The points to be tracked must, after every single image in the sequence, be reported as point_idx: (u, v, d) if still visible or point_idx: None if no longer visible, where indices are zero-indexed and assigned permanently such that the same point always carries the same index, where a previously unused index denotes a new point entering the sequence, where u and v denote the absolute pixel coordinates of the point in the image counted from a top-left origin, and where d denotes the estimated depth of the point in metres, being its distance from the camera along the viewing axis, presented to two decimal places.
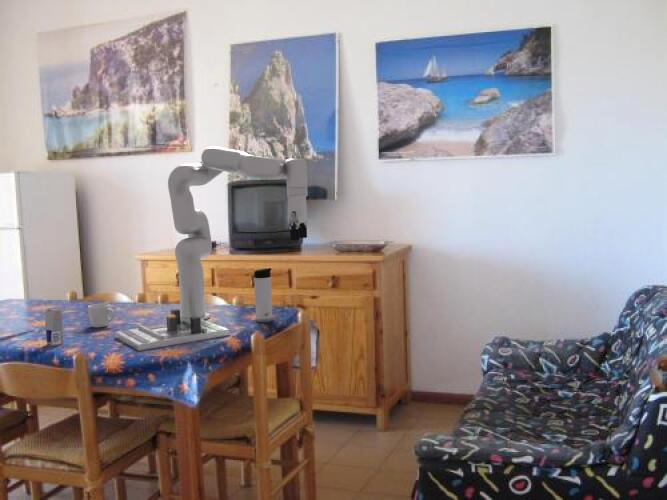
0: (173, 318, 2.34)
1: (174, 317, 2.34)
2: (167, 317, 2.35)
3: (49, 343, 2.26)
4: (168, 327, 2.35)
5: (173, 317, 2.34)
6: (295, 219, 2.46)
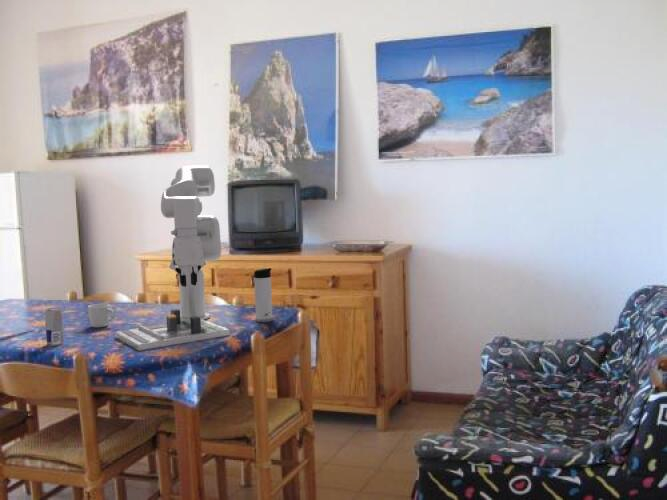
0: (173, 318, 2.34)
1: (174, 317, 2.34)
2: (167, 317, 2.35)
3: (49, 343, 2.26)
4: (168, 327, 2.35)
5: (173, 317, 2.34)
6: None
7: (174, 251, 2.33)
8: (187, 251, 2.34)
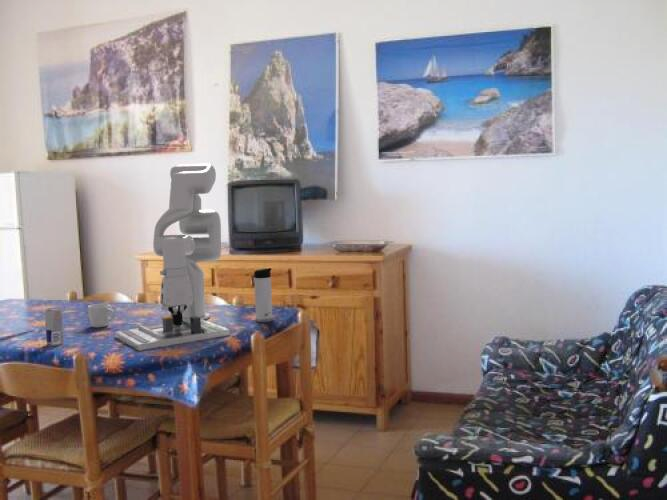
0: (169, 319, 2.33)
1: (170, 318, 2.33)
2: (163, 318, 2.34)
3: (49, 343, 2.26)
4: (164, 328, 2.34)
5: (169, 318, 2.33)
6: None
7: (163, 291, 2.31)
8: (176, 291, 2.32)
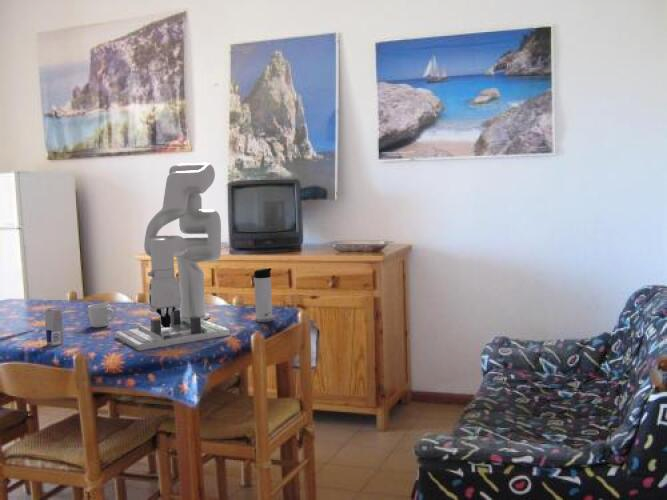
0: (158, 321, 2.31)
1: (158, 319, 2.31)
2: (151, 319, 2.31)
3: (49, 343, 2.26)
4: (152, 329, 2.31)
5: (157, 319, 2.31)
6: None
7: (151, 293, 2.29)
8: (164, 293, 2.30)
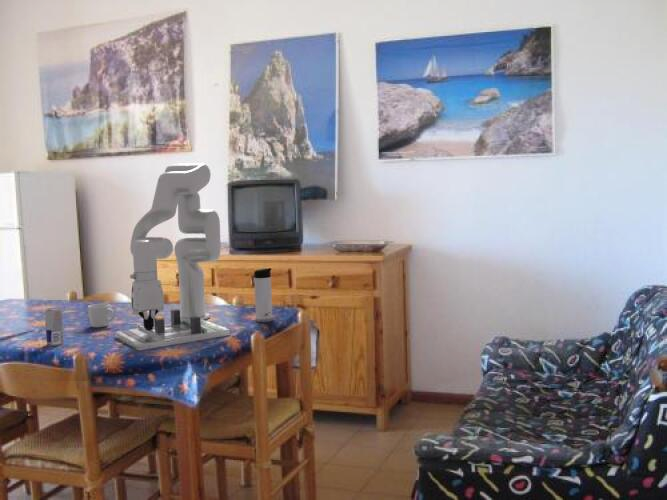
0: (161, 320, 2.31)
1: (162, 319, 2.32)
2: (155, 319, 2.32)
3: (49, 343, 2.26)
4: (156, 329, 2.32)
5: (161, 319, 2.31)
6: None
7: (133, 295, 2.26)
8: (146, 295, 2.27)
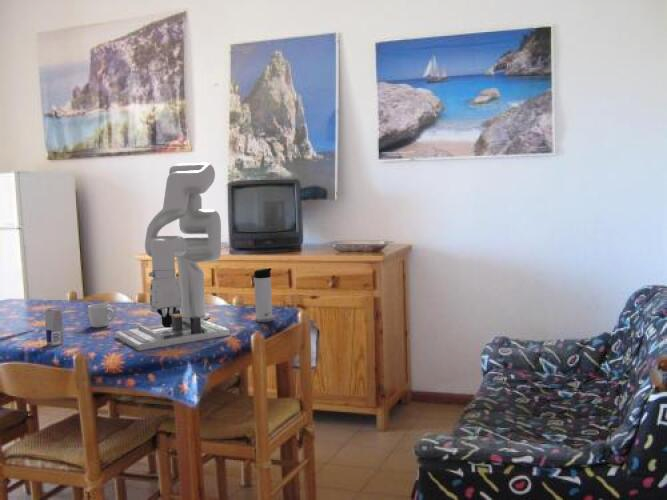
0: (179, 318, 2.35)
1: (180, 316, 2.35)
2: (173, 316, 2.36)
3: (49, 343, 2.26)
4: (174, 326, 2.36)
5: (179, 316, 2.35)
6: None
7: (152, 293, 2.29)
8: (165, 293, 2.30)
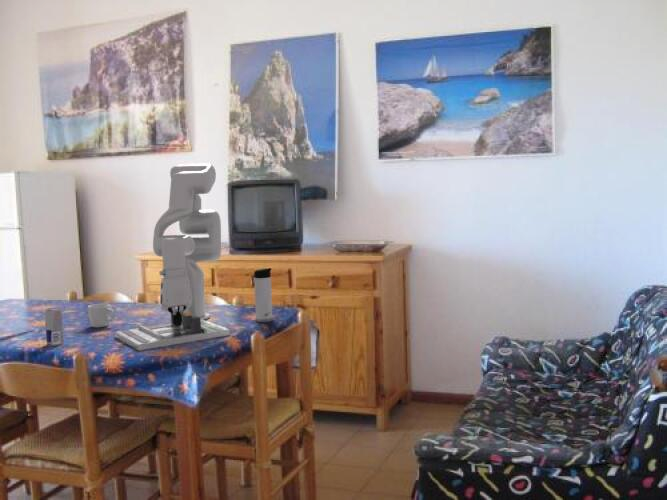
0: (189, 316, 2.37)
1: (190, 315, 2.37)
2: (183, 315, 2.38)
3: (49, 343, 2.26)
4: (184, 325, 2.38)
5: (189, 315, 2.37)
6: None
7: (162, 292, 2.31)
8: (175, 291, 2.32)
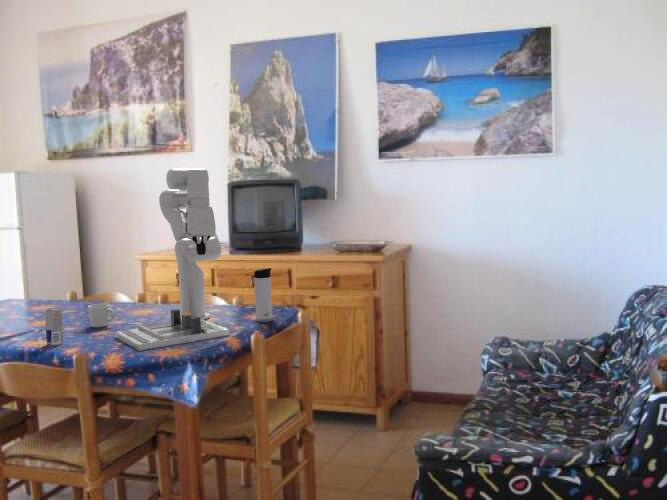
0: (189, 316, 2.37)
1: (189, 315, 2.37)
2: (182, 315, 2.38)
3: (49, 343, 2.26)
4: (183, 325, 2.38)
5: (188, 315, 2.37)
6: None
7: (187, 220, 2.39)
8: (200, 220, 2.40)
